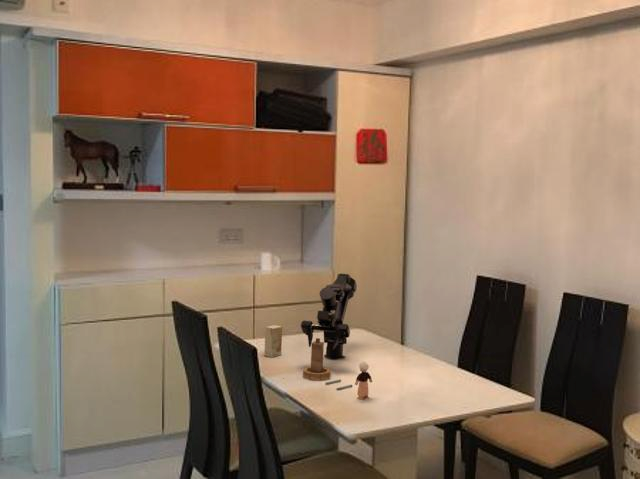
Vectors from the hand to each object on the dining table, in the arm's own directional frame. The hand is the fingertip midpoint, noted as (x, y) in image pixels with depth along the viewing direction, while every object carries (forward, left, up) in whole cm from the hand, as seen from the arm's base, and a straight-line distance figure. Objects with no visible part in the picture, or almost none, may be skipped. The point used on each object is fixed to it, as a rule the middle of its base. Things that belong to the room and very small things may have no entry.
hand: (321, 347), depth 267 cm
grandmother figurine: (+8, +31, -10) cm, 34 cm away
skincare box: (+1, -30, -10) cm, 31 cm away
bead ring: (+5, +3, -10) cm, 11 cm away
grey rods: (+5, +16, -10) cm, 19 cm away
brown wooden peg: (+5, +3, -10) cm, 11 cm away
